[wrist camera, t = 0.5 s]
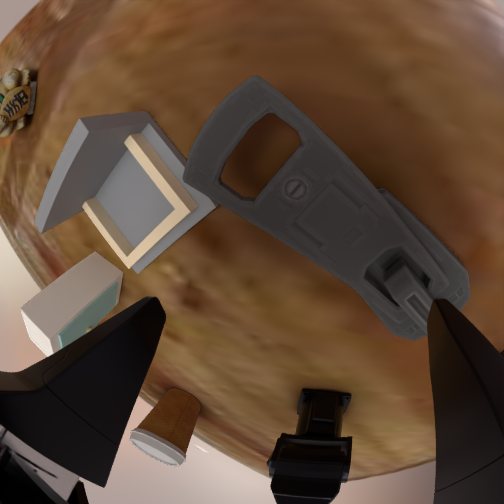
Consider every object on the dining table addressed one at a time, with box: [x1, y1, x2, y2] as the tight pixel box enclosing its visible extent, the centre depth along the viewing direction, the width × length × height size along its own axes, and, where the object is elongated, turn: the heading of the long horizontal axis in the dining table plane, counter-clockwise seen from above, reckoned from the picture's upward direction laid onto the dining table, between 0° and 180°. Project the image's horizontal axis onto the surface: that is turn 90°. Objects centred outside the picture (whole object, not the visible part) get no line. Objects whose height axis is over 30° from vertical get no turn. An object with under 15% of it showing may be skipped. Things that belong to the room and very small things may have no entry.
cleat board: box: [34, 111, 220, 274], centre depth 22 cm, size 11×13×8 cm
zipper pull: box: [182, 76, 470, 341], centre depth 18 cm, size 9×7×25 cm
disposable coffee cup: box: [130, 388, 201, 467], centre depth 36 cm, size 10×10×12 cm
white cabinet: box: [20, 251, 123, 357], centre depth 27 cm, size 6×6×13 cm
